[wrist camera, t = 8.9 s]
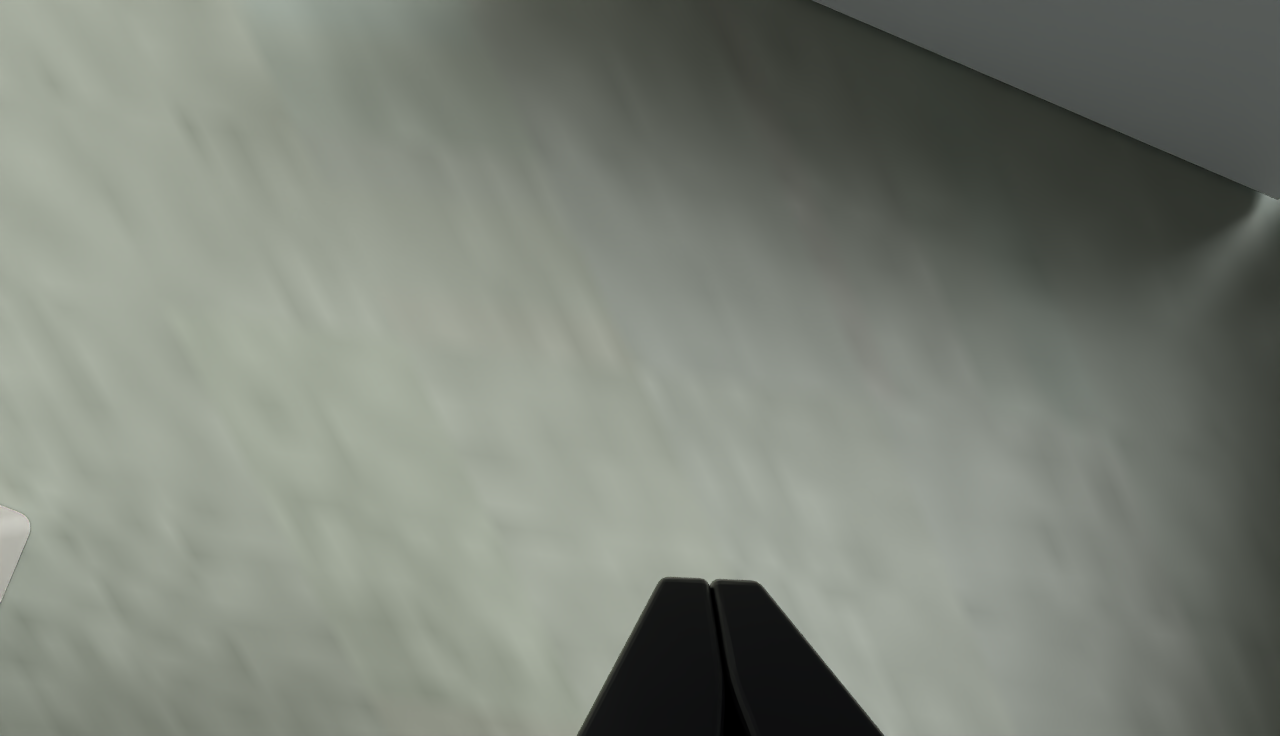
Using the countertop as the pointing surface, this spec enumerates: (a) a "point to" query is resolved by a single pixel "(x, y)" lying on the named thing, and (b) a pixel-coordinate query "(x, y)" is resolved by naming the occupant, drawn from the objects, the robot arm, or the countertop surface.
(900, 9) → the side door
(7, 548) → the security camera
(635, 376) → the countertop surface
